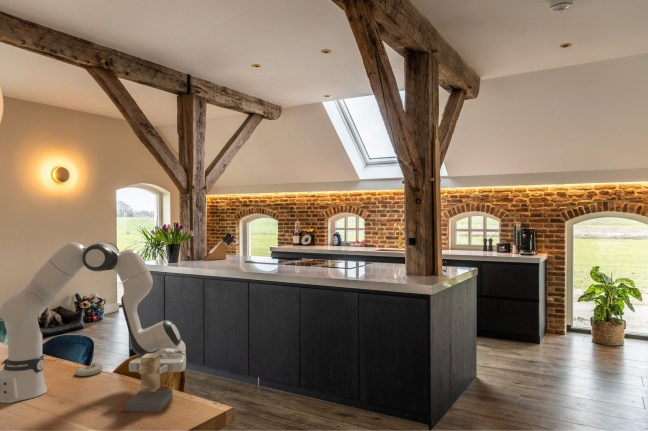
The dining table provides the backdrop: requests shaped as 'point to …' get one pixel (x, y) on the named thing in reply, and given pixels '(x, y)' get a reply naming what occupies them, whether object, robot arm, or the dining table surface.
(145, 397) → the plinth
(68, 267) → the robot arm
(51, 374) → the dining table surface
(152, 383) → the oak block
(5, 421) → the dining table surface
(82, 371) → the fossil
